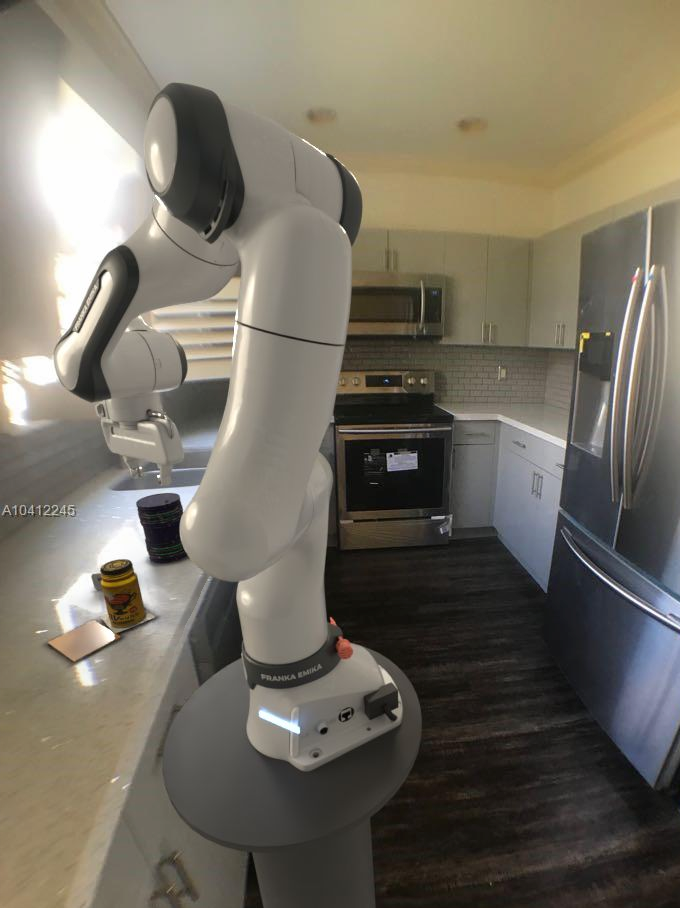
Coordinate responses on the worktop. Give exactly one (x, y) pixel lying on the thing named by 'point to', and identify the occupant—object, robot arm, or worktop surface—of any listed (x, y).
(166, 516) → the storage jar
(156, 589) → the worktop surface
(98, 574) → the usb wall charger
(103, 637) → the copper flat rectangular plate
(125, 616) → the condiment
